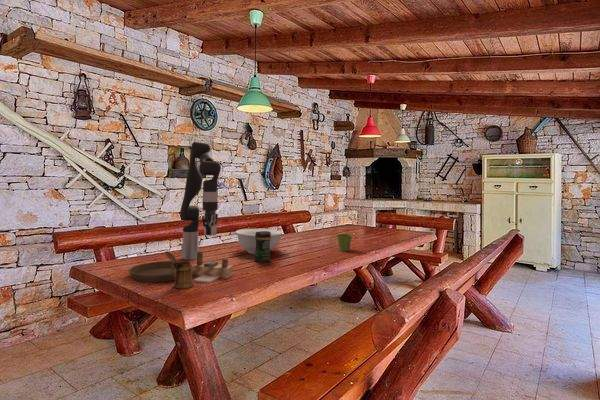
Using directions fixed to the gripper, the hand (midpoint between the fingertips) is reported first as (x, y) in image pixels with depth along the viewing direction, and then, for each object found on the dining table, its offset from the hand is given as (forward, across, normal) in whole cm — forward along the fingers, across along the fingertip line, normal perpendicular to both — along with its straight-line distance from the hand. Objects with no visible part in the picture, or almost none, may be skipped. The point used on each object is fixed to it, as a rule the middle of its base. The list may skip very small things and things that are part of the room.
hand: (210, 234), depth 191 cm
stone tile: (+23, +4, 0) cm, 23 cm away
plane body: (+22, -5, -1) cm, 23 cm away
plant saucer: (+23, +2, -26) cm, 35 cm away
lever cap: (0, 0, 0) cm, 0 cm away
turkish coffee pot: (+23, +19, -7) cm, 30 cm away
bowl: (+22, -69, +3) cm, 73 cm away
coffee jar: (+22, -45, +13) cm, 52 cm away
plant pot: (+22, -94, +59) cm, 113 cm away
